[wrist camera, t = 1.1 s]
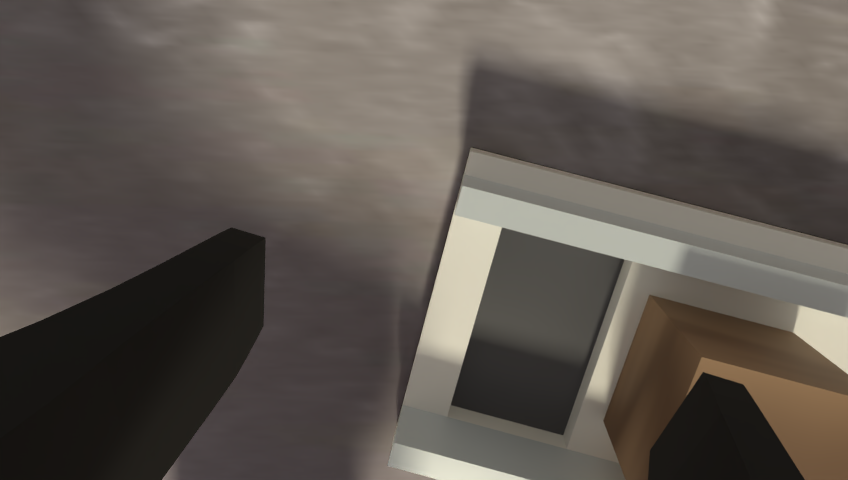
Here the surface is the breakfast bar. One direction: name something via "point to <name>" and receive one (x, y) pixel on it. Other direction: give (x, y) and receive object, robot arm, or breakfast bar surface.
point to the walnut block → (737, 361)
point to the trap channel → (581, 314)
